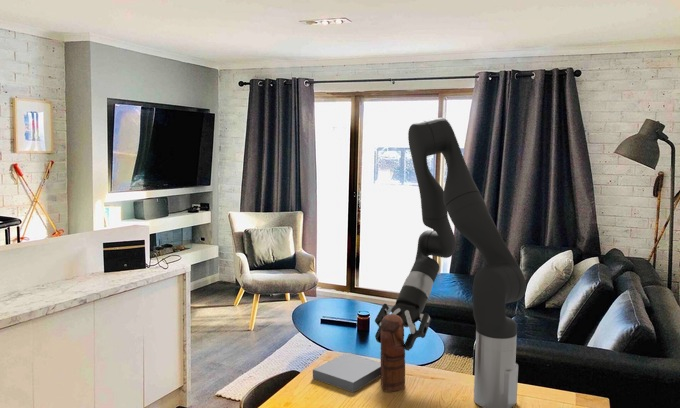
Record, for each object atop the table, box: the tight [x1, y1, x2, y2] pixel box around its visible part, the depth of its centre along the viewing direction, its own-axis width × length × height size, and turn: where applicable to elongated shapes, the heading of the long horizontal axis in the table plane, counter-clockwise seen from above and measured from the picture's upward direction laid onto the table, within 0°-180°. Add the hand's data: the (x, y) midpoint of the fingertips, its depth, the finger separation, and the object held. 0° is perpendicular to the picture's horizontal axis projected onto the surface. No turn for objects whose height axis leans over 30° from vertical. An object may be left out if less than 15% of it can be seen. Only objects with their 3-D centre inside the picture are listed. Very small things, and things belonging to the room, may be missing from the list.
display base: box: [312, 352, 381, 393], centre depth 147 cm, size 13×15×2 cm
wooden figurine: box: [380, 313, 406, 393], centre depth 141 cm, size 12×6×18 cm, turn 177°
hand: (391, 345), depth 142 cm, fingers closed on wooden figurine, 8 cm apart
